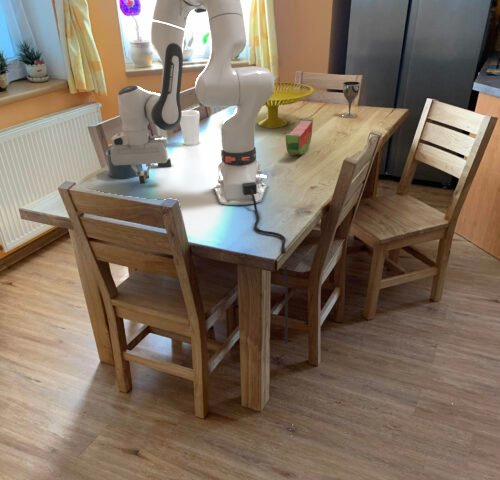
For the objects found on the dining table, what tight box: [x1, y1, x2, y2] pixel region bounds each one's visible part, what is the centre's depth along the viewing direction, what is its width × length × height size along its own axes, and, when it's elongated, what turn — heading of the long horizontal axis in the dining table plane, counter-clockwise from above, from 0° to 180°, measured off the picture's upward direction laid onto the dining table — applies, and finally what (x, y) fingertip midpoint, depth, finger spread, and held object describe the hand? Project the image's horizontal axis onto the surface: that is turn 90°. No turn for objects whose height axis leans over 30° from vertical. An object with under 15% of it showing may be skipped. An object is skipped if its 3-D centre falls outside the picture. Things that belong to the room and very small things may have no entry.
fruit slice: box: [285, 117, 314, 156], centre depth 214 cm, size 26×6×10 cm, turn 162°
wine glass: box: [341, 81, 361, 118], centre depth 256 cm, size 8×8×15 cm
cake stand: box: [258, 81, 315, 129], centre depth 249 cm, size 40×40×15 cm
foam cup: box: [179, 109, 201, 147], centre depth 228 cm, size 10×9×13 cm
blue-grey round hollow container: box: [105, 148, 144, 180], centre depth 201 cm, size 13×13×8 cm
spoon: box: [138, 170, 150, 185], centre depth 191 cm, size 8×3×3 cm, turn 2°
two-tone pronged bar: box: [150, 157, 172, 169], centre depth 207 cm, size 8×3×3 cm, turn 91°
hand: (142, 175), depth 190 cm, fingers closed on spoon, 2 cm apart
